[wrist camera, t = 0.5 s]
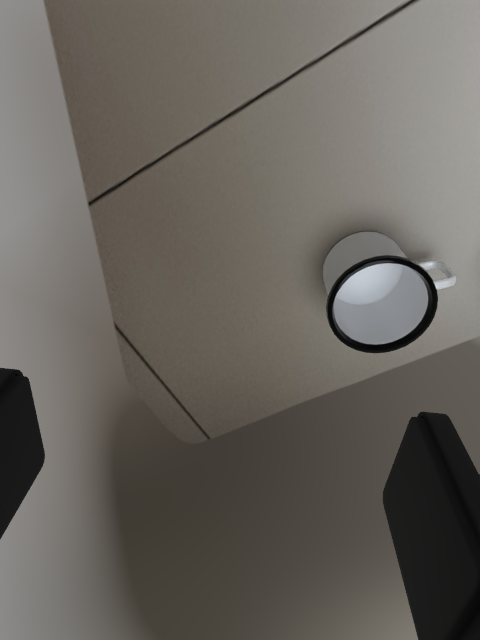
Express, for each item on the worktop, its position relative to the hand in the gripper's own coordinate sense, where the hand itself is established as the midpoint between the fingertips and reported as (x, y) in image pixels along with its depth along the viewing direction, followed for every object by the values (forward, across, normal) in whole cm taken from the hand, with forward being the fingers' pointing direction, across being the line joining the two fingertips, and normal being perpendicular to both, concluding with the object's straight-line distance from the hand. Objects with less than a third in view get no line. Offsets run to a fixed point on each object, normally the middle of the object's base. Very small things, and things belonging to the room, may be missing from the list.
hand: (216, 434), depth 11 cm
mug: (+35, -13, +9) cm, 38 cm away
